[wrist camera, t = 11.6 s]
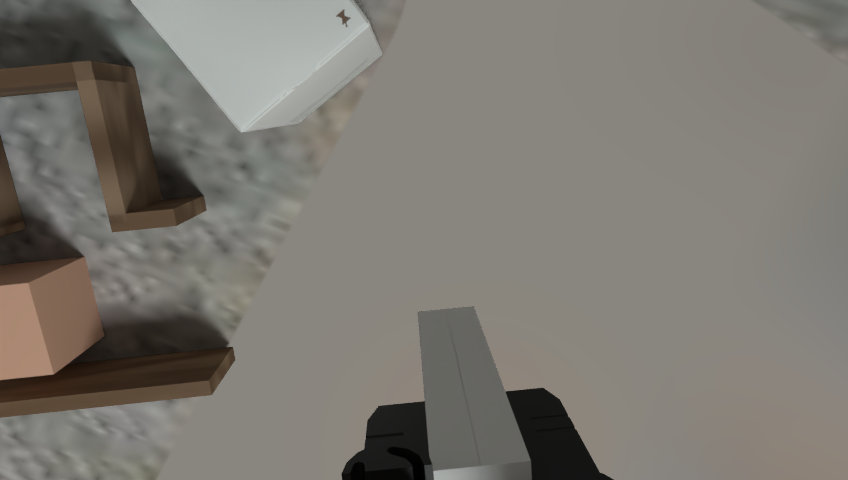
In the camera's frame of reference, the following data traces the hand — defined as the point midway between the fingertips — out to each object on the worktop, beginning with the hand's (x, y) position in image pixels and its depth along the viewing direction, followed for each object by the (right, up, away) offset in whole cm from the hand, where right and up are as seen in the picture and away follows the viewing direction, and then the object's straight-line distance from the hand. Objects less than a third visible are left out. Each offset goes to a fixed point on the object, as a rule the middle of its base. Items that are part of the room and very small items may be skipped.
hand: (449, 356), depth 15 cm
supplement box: (-10, +18, +27) cm, 34 cm away
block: (-32, -2, +31) cm, 44 cm away
